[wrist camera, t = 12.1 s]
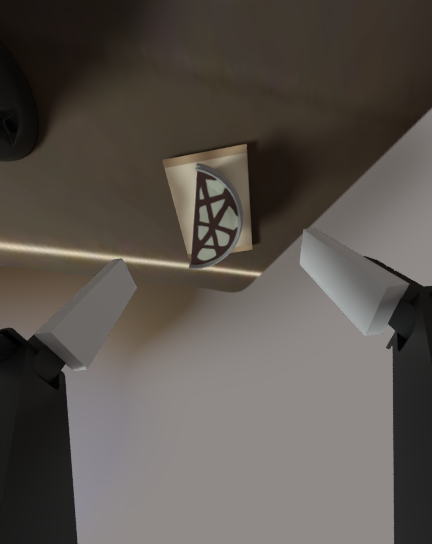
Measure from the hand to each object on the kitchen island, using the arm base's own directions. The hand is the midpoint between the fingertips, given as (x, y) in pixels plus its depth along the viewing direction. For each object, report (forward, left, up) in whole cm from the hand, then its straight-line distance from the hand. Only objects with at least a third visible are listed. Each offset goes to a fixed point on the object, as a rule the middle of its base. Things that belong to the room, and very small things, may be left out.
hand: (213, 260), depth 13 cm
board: (0, 0, -20) cm, 20 cm away
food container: (+1, 0, -18) cm, 18 cm away
